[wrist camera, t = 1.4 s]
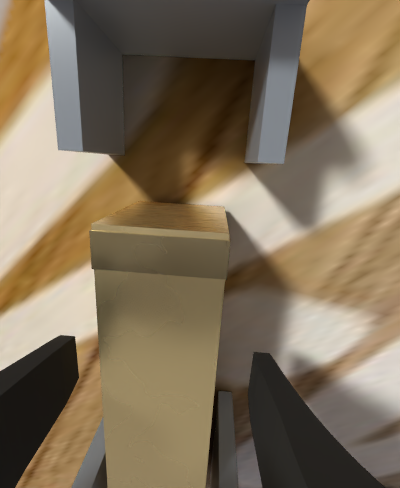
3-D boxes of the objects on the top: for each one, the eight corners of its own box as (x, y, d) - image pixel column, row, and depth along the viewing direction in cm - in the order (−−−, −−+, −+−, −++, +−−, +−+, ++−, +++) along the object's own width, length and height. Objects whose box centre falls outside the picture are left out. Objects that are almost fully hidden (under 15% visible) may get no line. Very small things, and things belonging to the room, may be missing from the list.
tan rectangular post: (202, 466, 17) (197, 584, 12) (140, 459, 17) (111, 573, 13) (225, 206, 12) (231, 234, 8) (138, 200, 13) (89, 223, 8)
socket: (262, 163, 12) (303, 163, 6) (107, 154, 12) (14, 146, 7) (278, 32, 11) (349, -121, 5) (102, 24, 11) (-23, -128, 5)
